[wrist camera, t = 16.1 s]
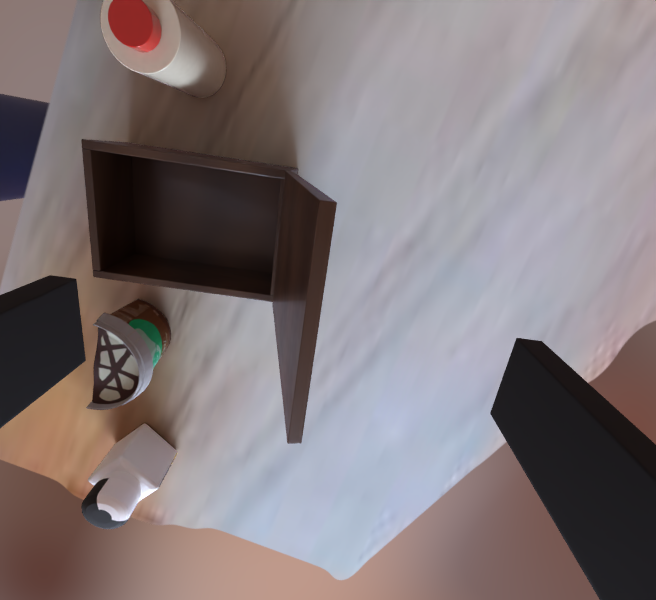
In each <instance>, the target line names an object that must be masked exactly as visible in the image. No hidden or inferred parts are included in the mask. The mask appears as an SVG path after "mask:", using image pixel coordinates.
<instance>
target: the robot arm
mask: <svg viewBox="0 0 656 600" xmlns="http://www.w3.org/2000/svg"><path fill="white" fill-rule="evenodd" d="M85 361H86V359H85V351H84V342H83V333H82V325H81V316H80V307H79V299H78V290H77V281H76V279H74V278H66V277H59V276H51V275H50V276H47V277H45V278H42V279H40V280H37V281H35V282H32V283H30V284H27V285H25V286H22V287H20V288H17V289H15V290H12V291H10V292H7V293H5V294H2V295H0V428H1V427H2V426H4V425H5V424H6V423H8V422H9V421H10V420H11V419H13V418H14V417H15V416H16V415H18V414H19V413H20V412H21V411H23V410H24V409H25V408H26V407H28V406H29V405H30V404H32V403H33V402H34V401H35V400H37V399H38V398H39V397H40V396H42V395H43V394H44V393H45V392H47V391H48V390H49V389H50V388H52V387H53V386H54V385H55V384H57V383H58V382H59V381H61V380H62V379H63V378H64V377H66V376H67V375H68V374H69V373H71V372H72V371H73V370H74V369H76V368H77V367H78V366H79V365H81V364H82V363H83V362H85ZM490 414H491V415H492V417H493V419H494V421H495V422H496V424H497V426H498V427H499V429H500V431H501V432H502V434H503V436H504V438H505V439H506V441H507V443H508V444H509V446H510V448H511V449H512V451H513V452H514V454H515V456H516V458H517V460H518V461H519V463H520V464H521V466H522V468H523V470H524V471H525V473H526V475H527V477H528V478H529V480H530V482H531V483H532V485H533V487H534V489H535V490H536V492H537V494H538V495H539V497H540V499H541V500H542V502H543V504H544V506H545V507H546V509H547V511H548V512H549V514H550V516H551V517H552V519H553V521H554V522H555V524H556V526H557V528H558V529H559V531H560V533H561V534H562V536H563V538H564V540H565V541H566V543H567V545H568V546H569V548H570V550H571V551H572V553H573V555H574V557H575V558H576V560H577V562H578V563H579V565H580V567H581V568H582V570H583V572H584V573H585V575H586V577H587V579H588V580H589V582H590V584H591V585H592V587H593V589H594V591H595V592H596V594H597V596H598V597H599V599H600V600H656V445H655V444H654V443H653V442H652V441H651V440H650V439H649V438H648V437H647V436H646V435H644V434H643V433H642V432H641V431H640V430H639V429H638V428H637V427H636V426H635V425H633V424H632V423H631V422H630V421H629V420H628V419H627V418H626V417H624V415H622V414H621V413H620V412H619V411H618V410H617V409H616V408H615V407H614V406H613V405H611V404H610V403H609V402H608V401H607V400H606V399H605V398H604V397H603V396H602V395H600V394H599V393H598V392H597V391H596V390H595V389H594V388H593V387H592V386H590V385H589V384H588V383H587V382H586V381H585V380H584V379H583V378H582V377H581V376H579V375H578V374H577V373H576V372H575V371H574V370H573V369H572V368H571V367H570V366H568V365H567V364H566V363H565V362H564V361H563V360H562V359H561V358H560V357H559V356H557V355H556V354H555V353H554V352H553V351H552V350H551V349H550V348H549V347H548V346H546V345H545V344H544V343H543V342H542V341H536V340H528V339H521V338H516V341H515V344H514V347H513V350H512V353H511V355H510V358H509V361H508V364H507V367H506V370H505V373H504V376H503V378H502V381H501V384H500V387H499V390H498V393H497V396H496V398H495V401H494V404H493V407H492V410H491V413H490Z"/></svg>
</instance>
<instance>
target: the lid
mask: <svg viewBox="0 0 656 600" xmlns="http://www.w3.org/2000/svg"><path fill="white" fill-rule="evenodd" d="M336 205H337V202H335V201H334V200H332V199H331V198H330V197H328V196H327V195H325V194H324V193H323V192H321V191H320V190H318V189H317V188H316V187H314V186H313V185H311V184H310V183H309V182H307V181H306V180H304V179H303V178H302V177H300V176H299V175H297V174H296V173H295V172H292V171H285V180H284V190H283V201H282V211H281V221H280V232H279V242H278V252H277V263H276V273H275V283H274V294H273V313H274V322H275V332H276V341H277V350H278V359H279V369H280V378H281V387H282V396H283V406H284V415H285V424H286V433H287V443H288V444H297V443H301V442H302V435H303V428H304V421H305V415H306V408H307V401H308V394H309V388H310V381H311V374H312V367H313V361H314V354H315V347H316V340H317V334H318V327H319V320H320V313H321V307H322V300H323V293H324V286H325V280H326V273H327V266H328V259H329V253H330V246H331V239H332V232H333V226H334V219H335V212H336Z"/></svg>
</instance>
